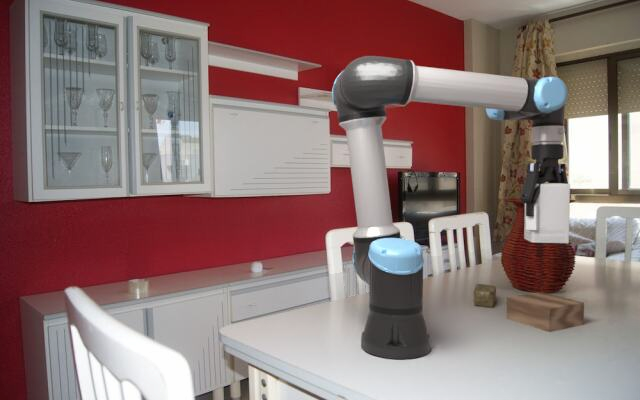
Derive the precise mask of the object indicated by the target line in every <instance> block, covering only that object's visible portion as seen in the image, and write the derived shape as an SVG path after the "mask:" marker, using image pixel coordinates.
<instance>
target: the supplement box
mask: <svg viewBox="0 0 640 400" xmlns="http://www.w3.org/2000/svg"><path fill="white" fill-rule="evenodd" d="M538 186H539V184H536V186H535V188H536V187H538ZM570 195H571V184H570V183H568V184H563V183H549V182H545V183H544V184H541V185H540V194H539V196H538V198H537V201H536V203H535V204H538V230H529V229H526V203H525V224H524V239H526V240H528V241H530V242H532V243H569V242H570V241H569V240H570V204H571V203H570V200H571V198H570Z"/></svg>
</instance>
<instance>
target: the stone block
mask: <svg viewBox="0 0 640 400" xmlns="http://www.w3.org/2000/svg"><path fill="white" fill-rule="evenodd" d="M496 295H497V286H496V285H493V284H484V283H477V284H476V285H475V287H474V290H473V305H475V306H477V307H484V308H494V306H495V303H496V297H497V296H496Z"/></svg>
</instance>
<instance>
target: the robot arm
mask: <svg viewBox="0 0 640 400" xmlns="http://www.w3.org/2000/svg"><path fill="white" fill-rule="evenodd" d="M331 89H332V90H331V99H332V103H333V105H334V107H335V108H336V110H337V111H336V112H337V113H336V114H337V118H338V119H337V120H338V126H340V127H341V128H342V129H344V131H345V132H346V133H345V134H346V141H347V150H348V158H349V165H350V172H351V173H350V174H351V182H352V190H353V199H354V207H355V214H356V221H357V222H356V223H357V229H356V230H355V231H354V232H353V233H352V242H353V247H354V248H353V252H352V265H353V269H354V271H355V273H356V274H357V276H358V277H359V278H360V279H361V280H362V281H364V282H365V283H366V284H367V285H368V288H369V289H368V290H369V291H368V296H369V298H368V301H369V302H368V304H369V305H368V308H369V309H368V314H367V319H366V322H365V326H364V329H363V331H362V332H361V333H362V334H361V337H360V341H361V343H360V344H361V345H360V346H361V349H362V350H364V351H365V353H368V354H371V355H374V356H377V357H381V358H385V359H396V360H397V359H398V360H399V359H400V360H403V359H413V358H415V359H416V358H420V357H422V356H425V355H427V354H429V353H430V351H431V344H432V343H431V341H432V340H431V336H430V334H429V333H428V328H427V323H426V321H425V318H424V313H423V303H424V301H423V299H424V292H423V291H424V265H425V260H424V255H423V254H424V252H423V249H422V246H421V245H420V244H419V243H418V242H415V241H414V240H410V239H405V238H402V237H401V230H400V228H399V227H398V226H396V225H395V223H394V222H393V216H392V215H393V214H392V209H391V208H392V207H391V197H390V189H389V181H388V174H387V164H386V155H385V148H384V139H383V131H382V125H383V124H384V123H385V121H386V120H387V110H386V109H387V108H386V106H389V105H391V106H392V105H399V106H406V105H408V104H409V103H411V102H416V103H428V104H437V105H448V106H457V107H458V106H459V107H467V108H468V107H470V108H478V109H485V113H486V115H487V117H488V118H489V119H490V120H493V121H501V122H502V121H531V136H530V137H531V139H530V141H531V142H530V143H532V144H533V145H532V146H531V151H530V153H531V154H530V155H531V156H530V158H531V159H532V160H535V162H531V163H530V162H529V163H527V168H526V169H527V170H526V176H525V179H524V183H523V185H522V186H523V187H522V189H521V190H522V191H521V193H520V197H519V198H520V200H521V201H522V203H526V229H529V230H538V204H535V203H536V201H537V198H538V196H539V194H540V185H541V184H544V183H563V184H569V181H568V177H567V173H566V171H567V169H566V167H567V166H566V163H559V160H562V159H564V154H565V153H564V151H565V149H564V148H565V147H564V145H563V144H562V143H564V137H565V132H566V131H565V107H566V106H565V104H566V102H567V100H568V96H569V95H568V94H569V91H568V87H567V85H566V83H565V82H564V81H563V80H562V79H561V78H559V77H557V76H545V77H541V78H539V79H536V78H529V77H528V78H527V77H517V76H507V75H500V74H492V73H491V74H490V73H483V72H481V73H480V72H474V71H465V70H464V71H463V70H456V69H448V68H439V67H438V68H437V67H430V66H429V67H428V66H422V65H421V66H420V65H416V64H415V62H414V61H413V60H411V59H404V58H403V59H402V58H395V57H387V56H379V55H378V56H377V55H364V56H361V57H357V58H356V59H354V60H352V61H351V62H350V63H348V64H347V66H346V67H345V68H344V69H343V70H342V71H341V72H340V73H339V74H338V75H337V77H336V78H335V80H334V82H333V86H332V88H331ZM536 184H539V186H538V187H536V188H535V186H536ZM571 198H572V197H571V194H570V199H571Z"/></svg>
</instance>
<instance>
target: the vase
mask: <svg viewBox="0 0 640 400" xmlns="http://www.w3.org/2000/svg"><path fill="white" fill-rule="evenodd" d="M502 200H503V201H505V202H507V203H512V204H514V205H515V206H516V209H515V210H516V213H515V219H514V223H513V224H512V225H511V226H512V227H511V229H510V230H509V233H508V235H507V236H506V238H505V240H504V243H503V246H502V247H501V250H500V257H501V258H500V259H501V260H500V262H501V267H502V268H503V271H504V274H505V275H506V277H507V279H508V280H509V281H510V283H511V284H512V285H513V286H512V287H514V288H516V289H518V290H521V291H527V292H532V293H538V292H542V293H546V294H550V293H556V292H559V291H561V290H562V289H563V287H564V286H566V284H567V282H569V281H570V279H569V278H571V275H573V271H575V268H576V266H575V265H576V263H577V262H576V257H577V256H576V255H577V254H576V252H575V249H574V248H573V246H572V242H570V241H571V240H570V239H569V243H532V242H530V241H528V240H526V239H524V224H525V203H522V201H521V200H520V197H518V198H515V197H514V198H513V197H512V198H503V199H502ZM575 202H576V200H575V199H570V204H572V203H575Z"/></svg>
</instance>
